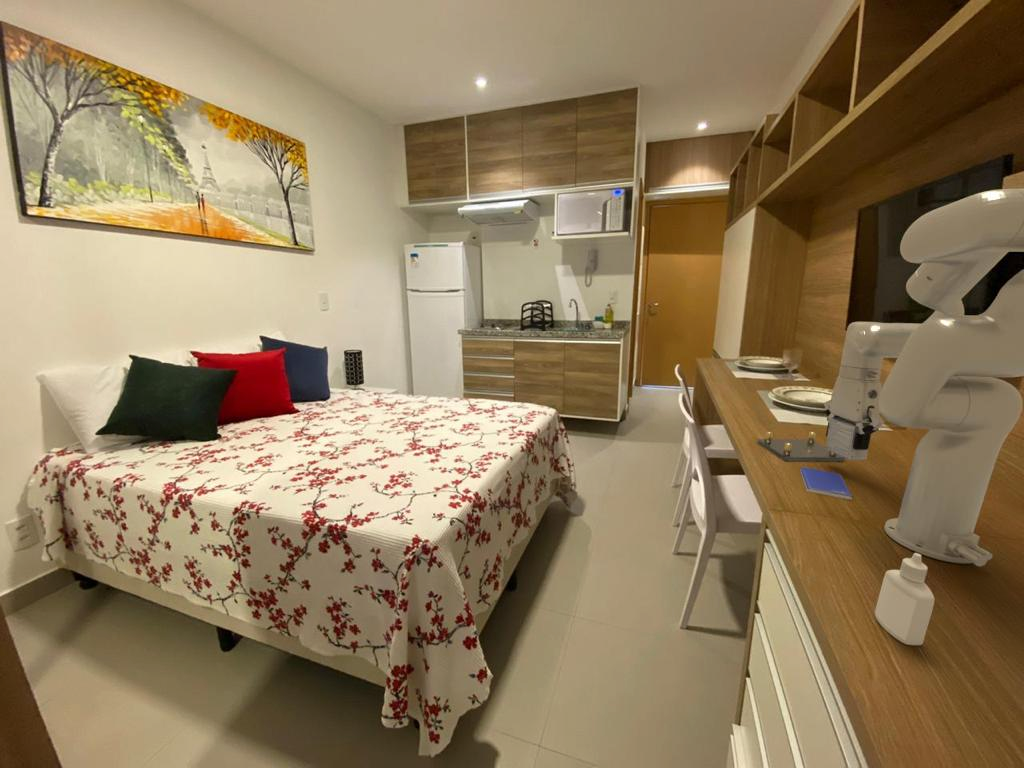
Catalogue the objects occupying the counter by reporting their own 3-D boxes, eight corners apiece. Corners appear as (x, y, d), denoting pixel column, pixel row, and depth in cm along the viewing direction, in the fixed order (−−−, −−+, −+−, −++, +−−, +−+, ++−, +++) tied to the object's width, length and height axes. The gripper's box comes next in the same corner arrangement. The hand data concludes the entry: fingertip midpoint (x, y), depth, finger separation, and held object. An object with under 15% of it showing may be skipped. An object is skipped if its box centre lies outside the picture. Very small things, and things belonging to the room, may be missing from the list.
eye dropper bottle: (880, 637, 56) (901, 560, 53) (872, 610, 61) (890, 538, 58) (924, 652, 54) (948, 573, 51) (912, 622, 59) (933, 548, 56)
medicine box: (866, 460, 100) (873, 426, 98) (848, 460, 100) (854, 426, 98) (841, 449, 108) (847, 417, 106) (824, 449, 108) (829, 417, 106)
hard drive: (852, 495, 92) (840, 473, 102) (807, 487, 95) (800, 466, 106) (851, 502, 92) (839, 479, 103) (806, 493, 96) (799, 472, 106)
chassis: (844, 461, 111) (847, 447, 110) (785, 461, 111) (787, 446, 110) (810, 443, 124) (813, 429, 123) (757, 442, 124) (759, 429, 123)
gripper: (908, 381, 91) (892, 456, 95) (846, 367, 108) (834, 431, 112) (874, 381, 91) (859, 455, 95) (817, 367, 108) (806, 431, 112)
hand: (845, 442), depth 103 cm, fingers closed on medicine box, 8 cm apart
